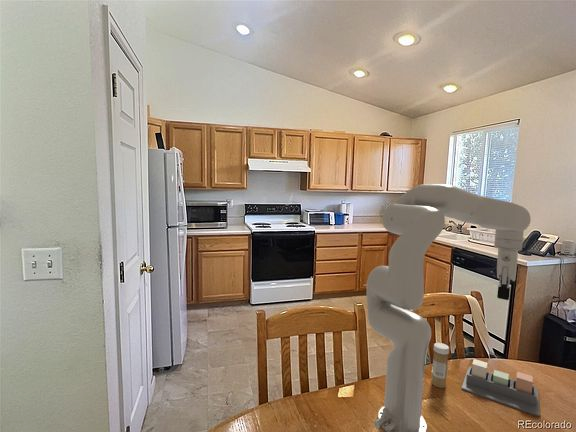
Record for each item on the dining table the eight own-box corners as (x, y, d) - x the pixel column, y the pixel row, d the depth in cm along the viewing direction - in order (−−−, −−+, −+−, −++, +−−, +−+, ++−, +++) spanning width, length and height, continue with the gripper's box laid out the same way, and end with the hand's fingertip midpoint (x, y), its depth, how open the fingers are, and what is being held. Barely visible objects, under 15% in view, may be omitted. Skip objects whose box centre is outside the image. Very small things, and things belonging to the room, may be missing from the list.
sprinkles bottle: (448, 384, 106) (451, 345, 105) (443, 390, 103) (446, 350, 102) (434, 378, 109) (437, 340, 108) (428, 383, 106) (431, 345, 105)
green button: (507, 393, 101) (508, 379, 100) (492, 388, 103) (493, 375, 103) (507, 387, 104) (508, 374, 103) (493, 382, 106) (494, 369, 106)
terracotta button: (531, 396, 97) (532, 382, 97) (515, 391, 99) (516, 377, 99) (531, 389, 100) (532, 376, 100) (515, 384, 103) (516, 371, 102)
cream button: (485, 381, 104) (486, 368, 104) (471, 376, 106) (472, 363, 106) (486, 375, 107) (487, 362, 107) (472, 371, 110) (473, 358, 109)
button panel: (539, 416, 92) (540, 405, 92) (461, 389, 104) (462, 378, 104) (537, 392, 103) (538, 381, 103) (467, 370, 115) (468, 360, 115)
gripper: (522, 248, 96) (516, 307, 98) (522, 242, 108) (517, 295, 110) (492, 245, 100) (487, 302, 102) (496, 239, 112) (491, 290, 114)
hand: (503, 298), depth 106 cm, fingers closed
